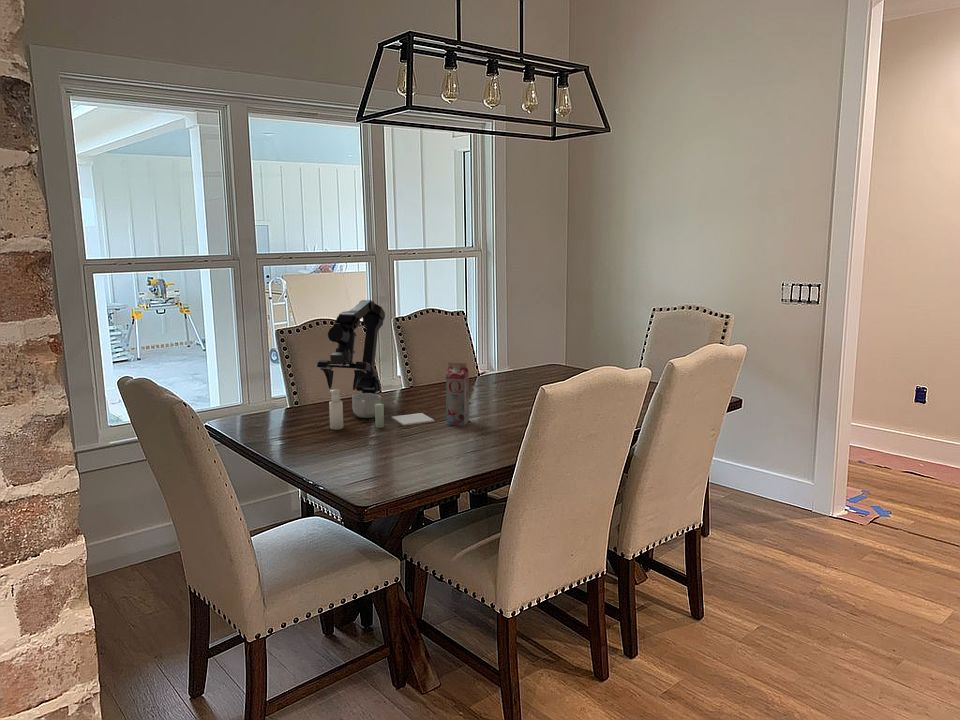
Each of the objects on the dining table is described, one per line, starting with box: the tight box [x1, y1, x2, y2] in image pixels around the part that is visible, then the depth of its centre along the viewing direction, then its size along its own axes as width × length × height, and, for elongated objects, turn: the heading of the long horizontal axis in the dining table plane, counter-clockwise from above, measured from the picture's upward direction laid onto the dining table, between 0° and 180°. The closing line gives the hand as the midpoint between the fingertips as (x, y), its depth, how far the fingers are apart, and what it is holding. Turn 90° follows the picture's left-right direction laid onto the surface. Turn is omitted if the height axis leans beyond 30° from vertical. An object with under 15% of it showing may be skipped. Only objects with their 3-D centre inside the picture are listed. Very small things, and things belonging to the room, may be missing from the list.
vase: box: [328, 388, 344, 431], centre depth 267 cm, size 5×5×14 cm
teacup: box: [351, 392, 382, 419], centre depth 283 cm, size 14×11×8 cm
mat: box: [391, 412, 435, 426], centre depth 279 cm, size 12×12×1 cm
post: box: [374, 403, 385, 429], centre depth 269 cm, size 3×3×8 cm
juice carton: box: [445, 362, 470, 426], centre depth 273 cm, size 7×7×22 cm
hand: (341, 389), depth 275 cm, fingers open, 9 cm apart
